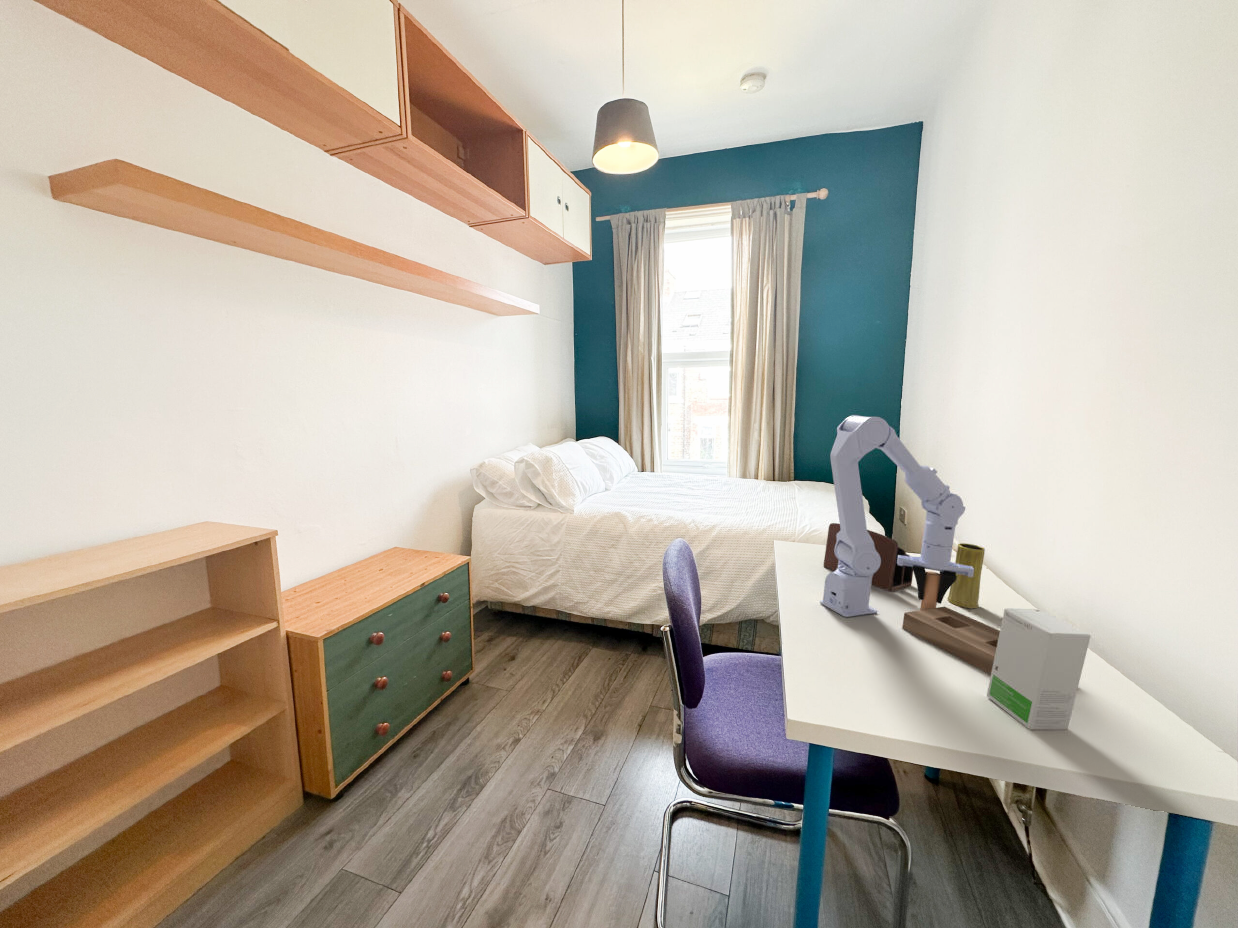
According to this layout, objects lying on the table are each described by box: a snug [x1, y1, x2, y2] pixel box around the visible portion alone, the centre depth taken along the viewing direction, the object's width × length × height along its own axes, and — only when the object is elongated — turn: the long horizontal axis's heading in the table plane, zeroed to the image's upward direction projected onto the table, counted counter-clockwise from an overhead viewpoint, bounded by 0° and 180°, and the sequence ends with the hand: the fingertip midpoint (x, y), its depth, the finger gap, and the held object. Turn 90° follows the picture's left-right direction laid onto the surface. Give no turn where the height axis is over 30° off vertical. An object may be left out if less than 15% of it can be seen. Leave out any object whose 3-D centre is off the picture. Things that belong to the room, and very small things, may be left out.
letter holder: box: [823, 522, 914, 592], centre depth 132 cm, size 10×20×14 cm, turn 31°
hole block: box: [901, 606, 1000, 675], centre depth 94 cm, size 12×22×4 cm, turn 20°
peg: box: [919, 570, 941, 610], centre depth 111 cm, size 3×3×9 cm
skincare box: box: [986, 607, 1092, 731], centre depth 74 cm, size 8×7×16 cm
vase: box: [947, 542, 986, 609], centre depth 116 cm, size 6×6×14 cm
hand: (929, 600), depth 111 cm, fingers closed on peg, 3 cm apart
